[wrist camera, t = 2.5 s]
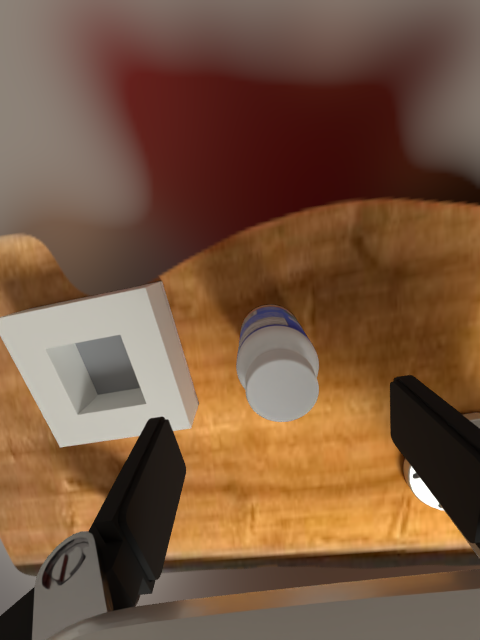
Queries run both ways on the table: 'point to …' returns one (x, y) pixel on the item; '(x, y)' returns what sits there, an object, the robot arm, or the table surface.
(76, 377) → the housing
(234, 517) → the table surface
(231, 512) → the table surface
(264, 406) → the pill bottle
